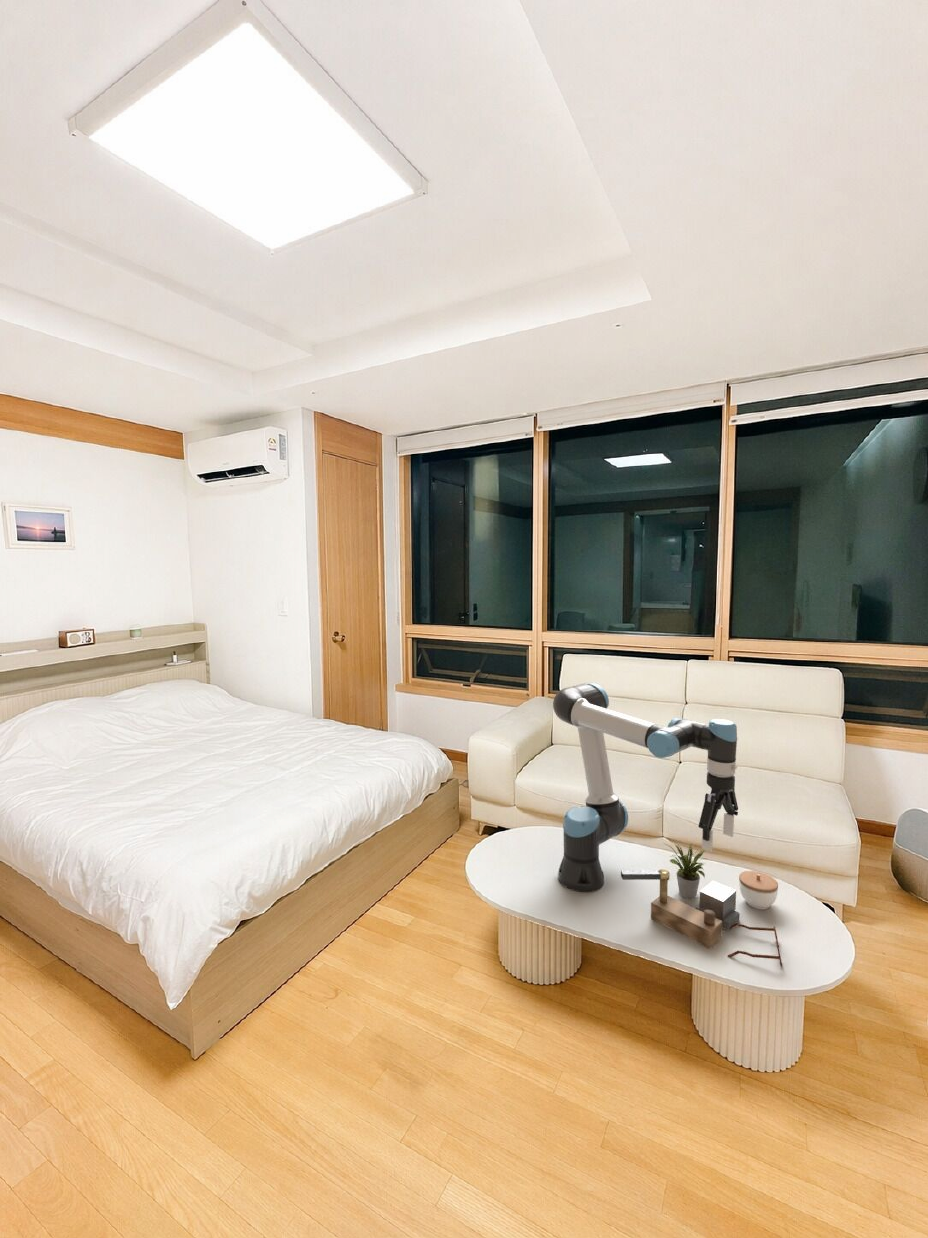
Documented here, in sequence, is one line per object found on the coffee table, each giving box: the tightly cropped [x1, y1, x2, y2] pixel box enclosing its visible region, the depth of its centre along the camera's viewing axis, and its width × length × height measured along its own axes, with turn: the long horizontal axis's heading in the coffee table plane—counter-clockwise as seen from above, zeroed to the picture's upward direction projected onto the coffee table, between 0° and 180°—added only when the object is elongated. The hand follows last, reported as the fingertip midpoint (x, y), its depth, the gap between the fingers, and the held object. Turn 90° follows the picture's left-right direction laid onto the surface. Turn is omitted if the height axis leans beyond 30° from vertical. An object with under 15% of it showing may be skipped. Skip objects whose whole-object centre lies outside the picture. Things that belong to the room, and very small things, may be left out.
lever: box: [620, 868, 671, 881], centre depth 165 cm, size 14×3×2 cm, turn 89°
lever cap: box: [698, 880, 737, 921], centre depth 165 cm, size 7×8×6 cm
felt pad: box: [694, 904, 741, 932], centre depth 165 cm, size 10×7×2 cm
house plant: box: [664, 843, 708, 899], centre depth 177 cm, size 14×14×16 cm
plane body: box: [650, 880, 723, 950], centre depth 160 cm, size 18×7×12 cm, turn 41°
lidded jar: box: [738, 870, 779, 910], centre depth 172 cm, size 11×11×9 cm
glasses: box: [727, 923, 783, 968], centre depth 152 cm, size 13×13×5 cm
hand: (717, 842), depth 164 cm, fingers open, 13 cm apart
